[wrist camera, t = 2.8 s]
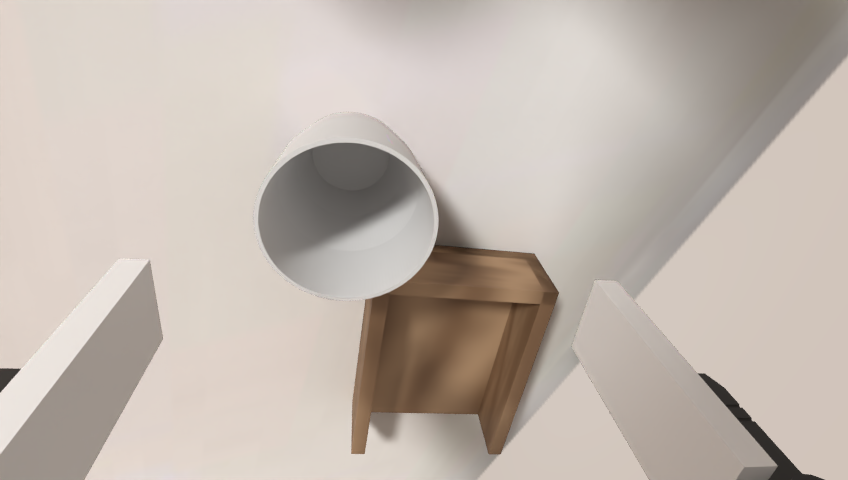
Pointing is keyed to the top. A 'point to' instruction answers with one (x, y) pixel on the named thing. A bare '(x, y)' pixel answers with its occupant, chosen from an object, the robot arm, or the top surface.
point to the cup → (346, 210)
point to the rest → (454, 340)
